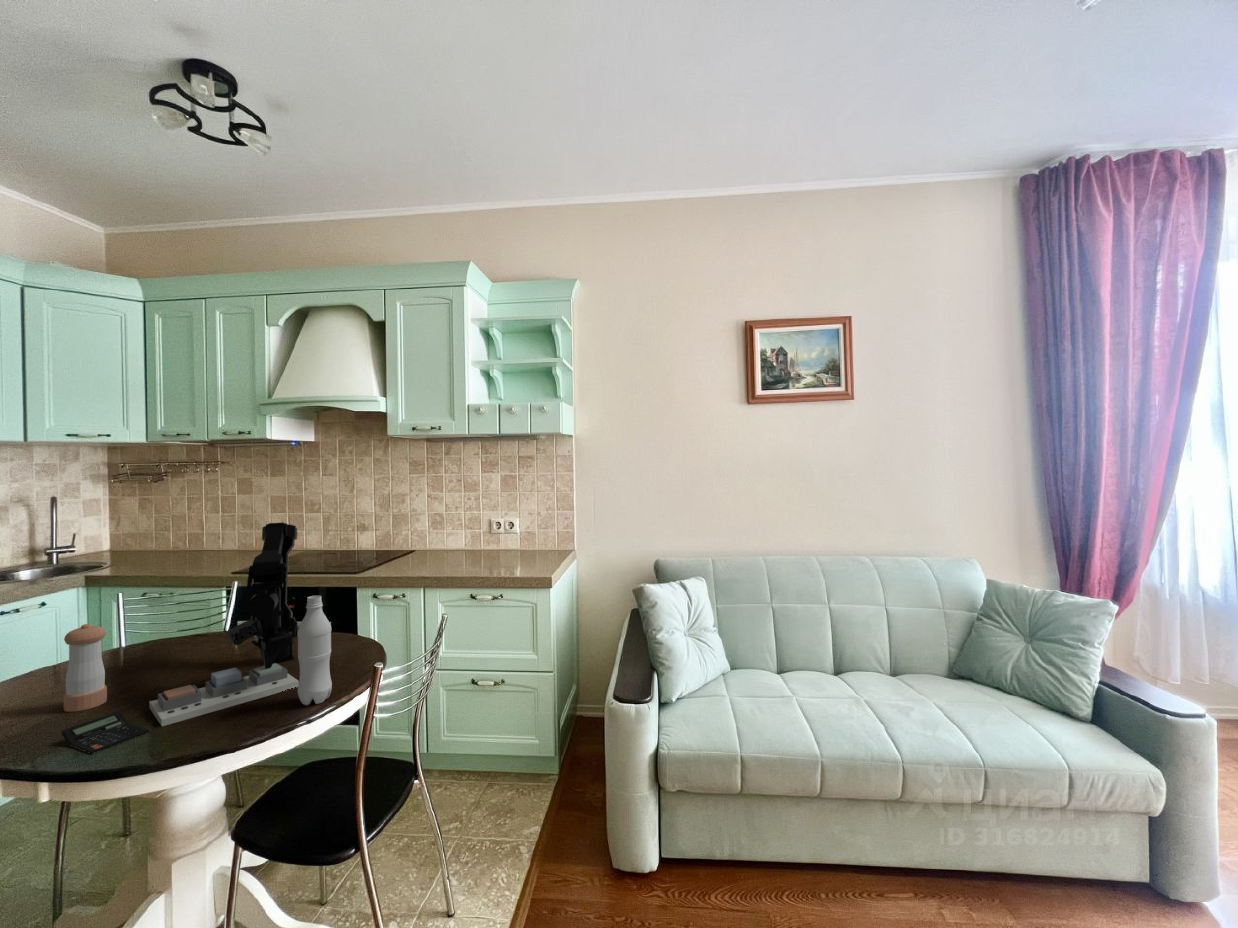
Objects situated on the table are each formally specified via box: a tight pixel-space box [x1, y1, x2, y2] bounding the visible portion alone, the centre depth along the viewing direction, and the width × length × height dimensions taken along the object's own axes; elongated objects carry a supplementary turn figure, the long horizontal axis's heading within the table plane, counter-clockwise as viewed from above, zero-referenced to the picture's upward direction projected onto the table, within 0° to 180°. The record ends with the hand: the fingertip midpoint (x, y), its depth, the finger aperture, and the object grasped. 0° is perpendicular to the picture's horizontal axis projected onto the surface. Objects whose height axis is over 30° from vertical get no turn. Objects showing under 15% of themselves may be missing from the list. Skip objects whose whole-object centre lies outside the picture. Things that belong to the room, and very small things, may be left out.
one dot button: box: [253, 663, 282, 676], centre depth 139 cm, size 5×5×2 cm
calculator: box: [61, 710, 150, 754], centre depth 112 cm, size 9×12×3 cm
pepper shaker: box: [63, 623, 108, 713], centre depth 127 cm, size 7×7×19 cm
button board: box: [148, 663, 299, 727], centre depth 131 cm, size 27×14×4 cm, turn 140°
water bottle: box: [297, 595, 333, 706], centre depth 129 cm, size 7×7×25 cm
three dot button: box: [163, 684, 196, 701], centre depth 125 cm, size 5×5×2 cm
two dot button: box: [210, 667, 242, 688], centre depth 132 cm, size 5×5×2 cm
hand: (268, 668), depth 139 cm, fingers closed, pressing on one dot button
